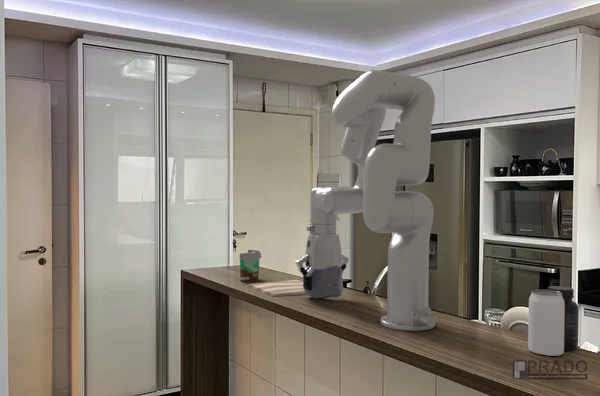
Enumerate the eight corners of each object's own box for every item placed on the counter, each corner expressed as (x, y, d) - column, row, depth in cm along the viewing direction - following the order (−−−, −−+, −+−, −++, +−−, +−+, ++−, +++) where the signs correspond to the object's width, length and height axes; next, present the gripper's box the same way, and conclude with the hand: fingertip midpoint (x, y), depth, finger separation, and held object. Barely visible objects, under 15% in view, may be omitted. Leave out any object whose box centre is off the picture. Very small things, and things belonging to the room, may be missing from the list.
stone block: (301, 299, 155) (301, 265, 155) (308, 296, 159) (308, 263, 159) (338, 303, 150) (338, 268, 149) (345, 300, 154) (345, 266, 154)
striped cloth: (324, 292, 165) (324, 288, 165) (272, 297, 157) (272, 293, 157) (297, 283, 181) (297, 279, 181) (248, 287, 173) (248, 284, 173)
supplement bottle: (576, 342, 112) (576, 286, 112) (580, 352, 106) (581, 292, 106) (540, 339, 115) (541, 284, 115) (542, 348, 108) (543, 289, 108)
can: (568, 351, 106) (568, 291, 106) (558, 359, 101) (559, 296, 101) (534, 345, 110) (535, 287, 110) (523, 352, 106) (524, 292, 105)
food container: (256, 283, 181) (257, 254, 181) (239, 282, 182) (239, 253, 182) (264, 277, 193) (265, 249, 193) (248, 276, 194) (248, 249, 194)
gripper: (303, 231, 147) (302, 293, 147) (355, 229, 155) (354, 288, 156) (290, 229, 153) (290, 288, 154) (341, 227, 162) (340, 283, 162)
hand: (322, 288), depth 155 cm, fingers open, 9 cm apart
